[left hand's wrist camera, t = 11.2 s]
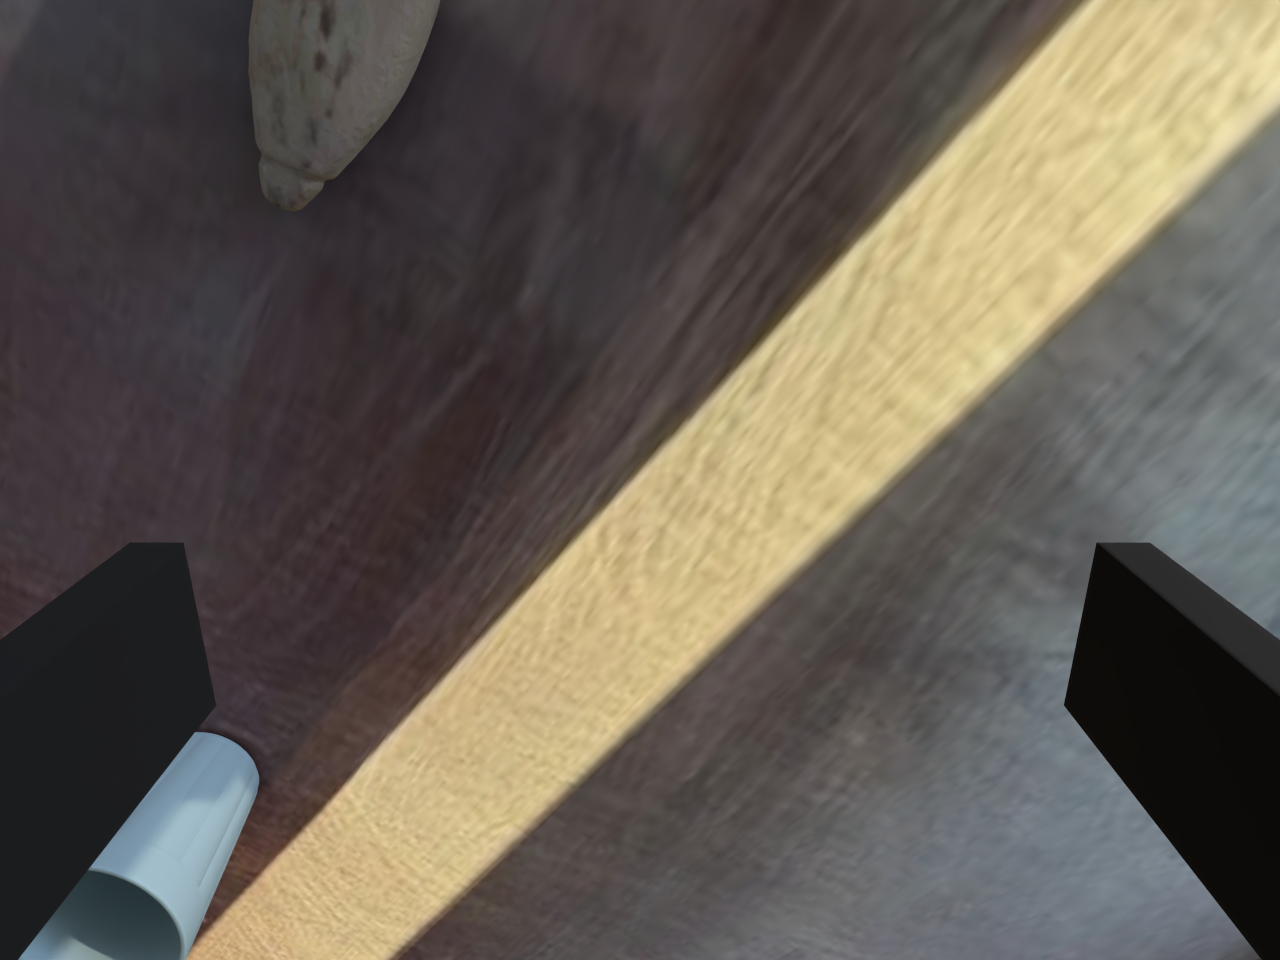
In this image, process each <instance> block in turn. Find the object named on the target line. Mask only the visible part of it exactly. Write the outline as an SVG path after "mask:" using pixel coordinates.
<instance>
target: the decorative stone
mask: <svg viewBox="0 0 1280 960" xmlns="http://www.w3.org/2000/svg"><path fill="white" fill-rule="evenodd" d="M439 4H440V0H253V7H252V14H251V21H250V30H249V41H248V45H249V67H248V75H249V78H250V90H251V95H252V110H253V122H254V133H255V141H256V144H257V146H258V148H259V150H260V151H261V159H260V162H259V177H260V183H261V188H262V192H263V195H264V196H265V197H266V198H267V199H268V200H269V201H270V203H272V204H274V205H276V206H277V207H279V208H282V209H284V210H289V211H292V212H296V211H299V210H301V209H302V208H303V207H304V206H306V205H307V204H308V203H309V202H310V201H311V200H312V199H313V198H314V197H315V196H316V195H317V194H318V193H319V192H320V191H321V190H322V188H323V186H324V183H325V181H326V180H330V179H334V178H336V177H337V176H338V175H339V174H340V173H341V172H342V171H343V169H344V168H345V167H346V166H347V165H348V164H349V163H350V162H351V161H352V160H353V159H354V158H355V157H356V156H357V154H358V153H359V152H360V151H361V150H362V149H363V148H364V147H365V146H366V144H367V143H368V142H369V141H370V140H371V139H372V137H373V136H374V135H375V134H376V132H377V131H378V130H379V129H380V128H381V127H382V125H383V124H384V123H385V122H386V121H387V120H388V118H389V116H390V115H391V113H392V112H393V111H394V109H395V108H396V106H397V105H398V103H399V102H400V100H401V98H402V96H403V95H404V93H405V91H406V89H407V87H408V86H409V83H410V81H411V79H412V77H413V75H414V73H415V71H416V69H417V66H418V64H419V61H420V59H421V56H422V54H423V52H424V49H425V47H426V44H427V41H428V39H429V36H430V33H431V30H432V27H433V25H434V22H435V19H436V16H437V12H438V8H439Z"/></svg>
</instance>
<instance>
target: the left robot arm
mask: <svg viewBox="0 0 1280 960" xmlns="http://www.w3.org/2000/svg"><path fill="white" fill-rule="evenodd" d="M215 706H216V703H215V698H214V693H213V688H212V683H211V678H210V673H209V668H208V663H207V658H206V653H205V648H204V643H203V638H202V633H201V628H200V623H199V618H198V613H197V608H196V603H195V598H194V593H193V588H192V583H191V578H190V573H189V568H188V563H187V558H186V553H185V548H184V543H129V544H128V545H126V546H125V547H124V548H122V549H121V550H120V551H118V552H117V553H116V554H114V555H113V556H112V557H110V558H109V559H108V560H106V561H105V562H104V563H102V564H101V565H100V566H98V567H97V568H96V569H94V570H93V571H92V572H90V573H89V574H88V575H86V576H85V577H84V578H82V579H81V580H80V581H78V582H77V583H76V584H74V585H73V586H72V587H70V588H69V589H68V590H66V591H65V592H64V593H62V594H61V595H60V596H58V597H57V598H56V599H54V600H53V601H52V602H50V603H49V604H48V605H46V606H45V607H44V608H42V609H41V610H40V611H38V612H37V613H36V614H34V615H33V616H32V617H30V618H29V619H28V620H26V621H25V622H24V623H22V624H21V625H20V626H18V627H17V628H16V629H14V630H13V631H12V632H10V633H9V634H8V635H6V636H5V637H4V638H2V639H1V640H0V960H18V959H19V958H20V957H21V955H22V954H23V953H24V952H25V950H26V949H27V948H28V946H29V945H30V944H31V943H32V941H33V940H34V939H35V937H36V936H37V935H38V934H39V932H40V931H41V930H42V928H43V927H44V926H45V925H46V923H47V922H48V921H49V919H50V918H51V917H52V916H53V914H54V913H55V912H56V910H57V909H58V908H59V907H60V905H61V904H62V903H63V901H64V900H65V899H66V898H67V896H68V895H69V894H70V892H71V891H72V890H73V889H74V887H75V886H76V885H77V883H78V882H79V881H80V880H81V878H82V877H83V876H84V874H85V873H86V872H87V871H88V869H89V868H90V867H91V865H92V864H93V863H94V862H95V860H96V859H97V858H98V856H99V855H100V854H101V853H102V851H103V850H104V849H105V847H106V846H107V845H108V844H109V842H110V841H111V840H112V838H113V837H114V836H115V835H116V833H117V832H118V831H119V829H120V828H121V827H122V826H123V824H124V823H125V822H126V820H127V819H128V818H129V817H130V815H131V814H132V813H133V811H134V810H135V809H136V808H137V806H138V805H139V804H140V802H141V801H142V800H143V799H144V797H145V796H146V795H147V793H148V792H149V791H150V790H151V788H152V787H153V786H154V784H155V783H156V782H157V781H158V779H159V778H160V777H161V775H162V774H163V773H164V772H165V770H166V769H167V768H168V766H169V765H170V764H171V763H172V761H173V760H174V759H175V757H176V756H177V755H178V754H179V752H180V751H181V750H182V748H183V747H184V746H185V745H186V743H187V742H188V741H189V739H190V738H191V737H192V736H193V734H194V733H195V732H196V730H197V729H198V728H199V727H200V725H201V724H202V723H203V721H204V720H205V719H206V718H207V716H208V715H209V714H210V712H211V711H212V710H213V709H214V707H215ZM1064 706H1065V707H1066V709H1067V710H1068V711H1069V712H1070V714H1071V715H1072V716H1073V718H1074V719H1075V720H1076V721H1077V723H1078V724H1079V725H1080V727H1081V728H1082V729H1083V730H1084V732H1085V733H1086V734H1087V736H1088V737H1089V738H1090V739H1091V741H1092V742H1093V743H1094V745H1095V746H1096V747H1097V748H1098V750H1099V751H1100V752H1101V754H1102V755H1103V756H1104V757H1105V759H1106V760H1107V761H1108V763H1109V764H1110V765H1111V766H1112V768H1113V769H1114V770H1115V772H1116V773H1117V774H1118V775H1119V777H1120V778H1121V779H1122V781H1123V782H1124V783H1125V784H1126V786H1127V787H1128V788H1129V790H1130V791H1131V792H1132V793H1133V795H1134V796H1135V797H1136V799H1137V800H1138V801H1139V802H1140V804H1141V805H1142V806H1143V808H1144V809H1145V810H1146V811H1147V813H1148V814H1149V815H1150V817H1151V818H1152V819H1153V820H1154V822H1155V823H1156V824H1157V826H1158V827H1159V828H1160V829H1161V831H1162V832H1163V833H1164V835H1165V836H1166V837H1167V838H1168V840H1169V841H1170V842H1171V844H1172V845H1173V846H1174V847H1175V849H1176V850H1177V851H1178V853H1179V854H1180V855H1181V856H1182V858H1183V859H1184V860H1185V862H1186V863H1187V864H1188V865H1189V867H1190V868H1191V869H1192V871H1193V872H1194V873H1195V874H1196V876H1197V877H1198V878H1199V880H1200V881H1201V882H1202V883H1203V885H1204V886H1205V887H1206V889H1207V890H1208V891H1209V892H1210V894H1211V895H1212V896H1213V898H1214V899H1215V900H1216V901H1217V903H1218V904H1219V905H1220V907H1221V908H1222V909H1223V910H1224V912H1225V913H1226V914H1227V916H1228V917H1229V918H1230V919H1231V921H1232V922H1233V923H1234V925H1235V926H1236V927H1237V928H1238V930H1239V931H1240V932H1241V934H1242V935H1243V936H1244V937H1245V939H1246V940H1247V941H1248V943H1249V944H1250V945H1251V946H1252V948H1253V949H1254V950H1255V952H1256V953H1257V954H1258V955H1259V957H1260V958H1261V959H1262V960H1280V640H1279V639H1278V638H1276V637H1275V636H1274V635H1272V634H1271V633H1270V632H1268V631H1267V630H1266V629H1264V628H1263V627H1262V626H1260V625H1259V624H1258V623H1256V622H1255V621H1254V620H1252V619H1251V618H1250V617H1248V616H1247V615H1246V614H1244V613H1243V612H1242V611H1240V610H1239V609H1238V608H1236V607H1235V606H1234V605H1232V604H1231V603H1230V602H1228V601H1227V600H1226V599H1224V598H1223V597H1222V596H1220V595H1219V594H1218V593H1216V592H1215V591H1214V590H1212V589H1211V588H1210V587H1208V586H1207V585H1206V584H1204V583H1203V582H1202V581H1200V580H1199V579H1198V578H1196V577H1195V576H1194V575H1192V574H1191V573H1190V572H1188V571H1187V570H1186V569H1184V568H1183V567H1182V566H1180V565H1179V564H1178V563H1176V562H1175V561H1174V560H1172V559H1171V558H1170V557H1168V556H1167V555H1166V554H1164V553H1163V552H1162V551H1160V550H1159V549H1158V548H1156V547H1155V546H1154V545H1152V544H1151V543H1096V548H1095V553H1094V558H1093V563H1092V568H1091V573H1090V578H1089V583H1088V588H1087V593H1086V598H1085V603H1084V608H1083V613H1082V618H1081V623H1080V628H1079V633H1078V638H1077V643H1076V648H1075V653H1074V658H1073V663H1072V668H1071V673H1070V678H1069V683H1068V688H1067V693H1066V698H1065V703H1064Z"/></svg>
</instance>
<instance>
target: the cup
mask: <svg viewBox="0 0 1280 960" xmlns="http://www.w3.org/2000/svg"><path fill="white" fill-rule="evenodd" d="M258 785H259V775H258V771H257V768H256V766H255V763H254V761H253V760H252V758H251V757H250V756H249V755H248V753H247V752H246V751H245V750H244V749H243V748H242V747H240V746H239V745H238V744H236V743H235V742H233V741H231V740H229V739H227V738H225V737H222V736H220V735H216V734H212V733H205V732H195V733H194V734H193V736H192V737H191V738H190V739H189V741H188V742H187V743H186V745H185V746H184V747H183V748H182V750H181V751H180V752H179V754H178V755H177V756H176V757H175V759H174V760H173V761H172V763H171V764H170V765H169V766H168V768H167V769H166V770H165V772H164V773H163V774H162V775H161V777H160V778H159V779H158V781H157V782H156V783H155V784H154V786H153V787H152V788H151V790H150V791H149V792H148V793H147V795H146V796H145V797H144V799H143V800H142V801H141V802H140V804H139V805H138V806H137V808H136V809H135V810H134V811H133V813H132V814H131V815H130V817H129V818H128V819H127V820H126V822H125V823H124V824H123V826H122V827H121V828H120V829H119V831H118V832H117V833H116V835H115V836H114V837H113V838H112V840H111V841H110V842H109V844H108V845H107V846H106V847H105V849H104V850H103V851H102V853H101V854H100V855H99V856H98V858H97V859H96V860H95V862H94V863H93V864H92V865H91V867H90V868H89V869H88V871H87V872H86V873H85V874H84V876H83V877H82V878H81V880H80V881H79V882H78V883H77V885H76V886H75V887H74V889H73V890H72V891H71V892H70V894H69V895H68V896H67V898H66V899H65V900H64V901H63V903H62V904H61V905H60V907H59V908H58V909H57V910H56V912H55V913H54V914H53V916H52V917H51V918H50V919H49V921H48V922H47V923H46V925H45V926H44V927H43V928H42V930H41V931H40V932H39V934H38V935H37V936H36V937H35V939H34V940H33V941H32V943H31V944H30V945H29V946H28V948H27V949H26V950H25V952H24V953H23V954H22V955H21V957H20V958H19V959H18V960H186V958H187V956H188V953H189V951H190V949H191V946H192V944H193V942H194V939H195V937H196V935H197V932H198V930H199V928H200V925H201V923H202V920H203V918H204V916H205V914H206V911H207V909H208V907H209V904H210V902H211V900H212V897H213V895H214V893H215V890H216V888H217V886H218V884H219V881H220V879H221V877H222V874H223V872H224V870H225V867H226V865H227V863H228V860H229V858H230V856H231V854H232V851H233V849H234V847H235V844H236V842H237V840H238V837H239V835H240V833H241V830H242V828H243V826H244V823H245V821H246V819H247V816H248V814H249V812H250V809H251V807H252V805H253V802H254V800H255V797H256V795H257V790H258Z"/></svg>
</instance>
